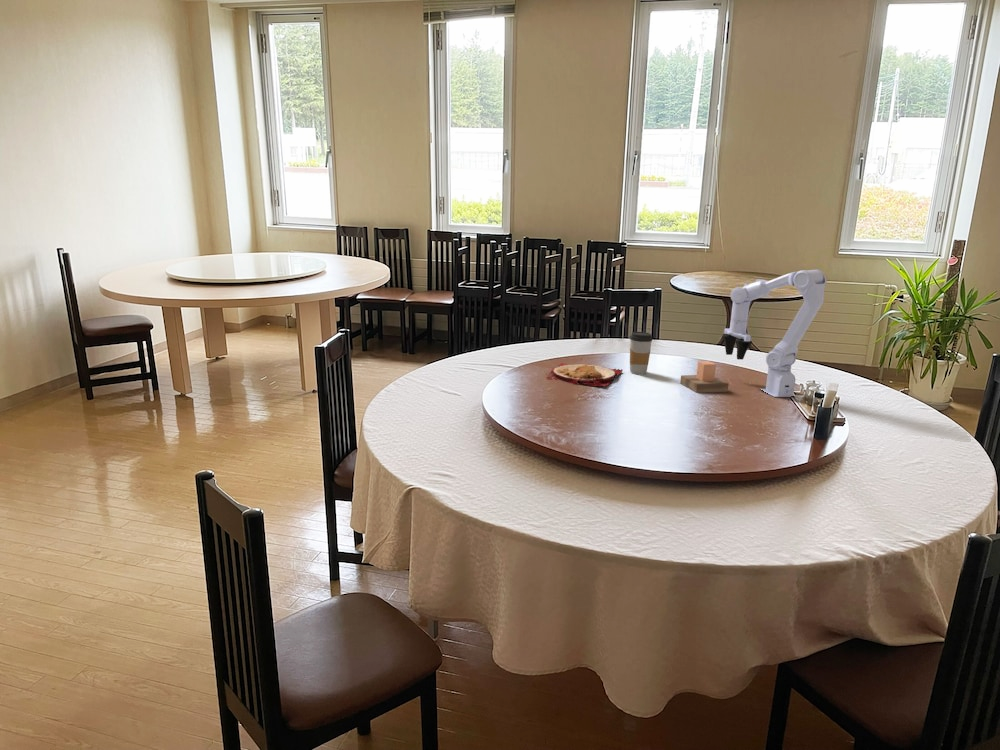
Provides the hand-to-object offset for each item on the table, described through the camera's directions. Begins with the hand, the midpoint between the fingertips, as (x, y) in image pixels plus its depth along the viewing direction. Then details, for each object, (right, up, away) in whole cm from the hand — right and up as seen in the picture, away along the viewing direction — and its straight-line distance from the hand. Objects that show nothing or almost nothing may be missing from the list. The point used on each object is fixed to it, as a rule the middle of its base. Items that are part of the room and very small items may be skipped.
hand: (734, 356), depth 258 cm
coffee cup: (-33, -6, +11) cm, 35 cm away
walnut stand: (-14, -11, -8) cm, 19 cm away
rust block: (-13, -8, -8) cm, 17 cm away
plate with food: (-56, -8, +2) cm, 56 cm away
